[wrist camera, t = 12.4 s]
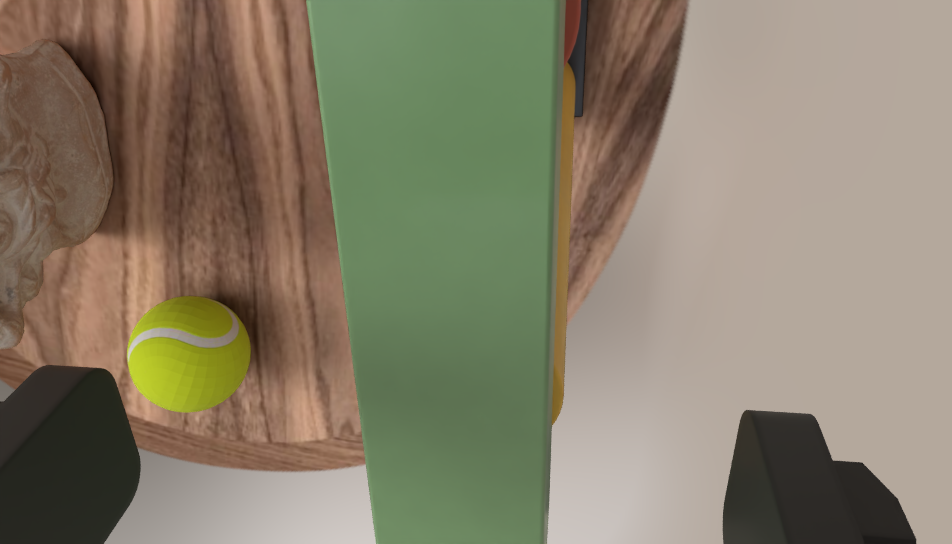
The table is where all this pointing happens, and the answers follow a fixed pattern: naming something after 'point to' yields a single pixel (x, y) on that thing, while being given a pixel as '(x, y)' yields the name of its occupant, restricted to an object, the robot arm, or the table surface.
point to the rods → (567, 176)
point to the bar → (448, 253)
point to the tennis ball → (188, 354)
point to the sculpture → (45, 171)
